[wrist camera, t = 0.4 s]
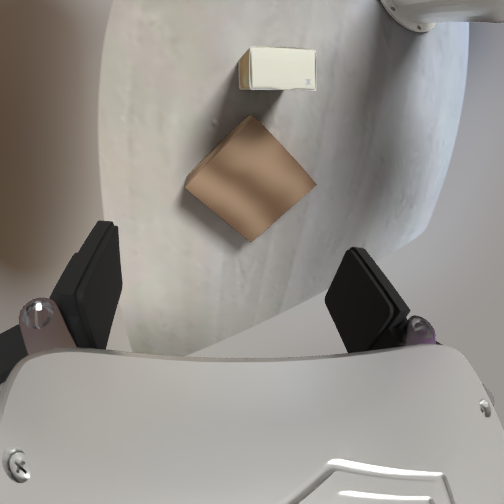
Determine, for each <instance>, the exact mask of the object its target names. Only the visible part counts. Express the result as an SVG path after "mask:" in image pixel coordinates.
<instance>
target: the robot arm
mask: <svg viewBox="0 0 504 504" xmlns="http://www.w3.org/2000/svg"><path fill="white" fill-rule="evenodd" d="M380 1H381V2H382V4H383V6H384V7H385V9H386V10H387V12H388V13H389V14H390V15H391V16H392V17H393V19H395V20H396V21H397V22H398V23H399V24H401V25H402V26H403V27H405V28H407V29H409V30H411V31H414V32H427V31H430V30H432V29H433V28H434V26H435V25H436V23H438V22H487V23H503V22H504V0H380ZM121 291H122V274H121V264H120V251H119V235H118V226H114V224H113V222H111V221H98V222H97V223H96V225H95V226H94V228H93V229H92V231H91V233H90V234H89V236H88V237H87V239H86V240H85V242H84V244H83V245H82V247H81V248H80V250H79V252H78V253H75V254H74V255H73V256H72V258H71V260H70V261H69V263H68V265H67V266H66V268H65V270H64V272H63V274H62V275H61V277H60V279H59V281H58V283H57V284H56V286H55V288H54V290H53V292H52V294H51V296H50V298H45V297H39V298H35V299H32V300H30V301H29V302H27V303H26V304H25V305H24V306H23V307H22V309H21V310H20V313H19V317H18V318H19V324H18V325H16V326H14V327H12V328H11V329H9V330H7V331H5V332H3V333H1V334H0V504H504V431H503V428H502V426H501V423H500V421H499V419H498V416H497V414H496V412H495V410H494V408H493V407H494V398H493V396H492V393H491V392H490V391H489V390H488V389H487V388H486V387H485V386H484V385H483V384H482V383H481V382H480V380H479V378H478V376H477V375H476V373H475V371H474V370H473V368H472V367H471V365H470V364H469V362H468V361H467V359H466V358H465V357H464V356H463V354H461V353H460V352H459V351H457V350H455V349H453V348H451V347H447V346H444V345H442V344H440V343H438V342H437V341H436V340H435V339H436V338H435V336H436V335H435V331H434V328H433V327H432V326H431V324H430V323H429V322H428V321H427V320H426V319H424V318H422V317H420V316H416V315H414V316H411V317H410V318H409V319H408V320H407V318H406V316H407V315H408V313H409V312H410V309H409V308H408V306H407V305H406V303H405V302H404V301H403V299H402V298H401V296H400V295H399V294H398V292H397V291H396V289H395V288H394V287H393V285H392V284H391V283H390V281H389V280H388V279H387V277H386V276H385V275H384V273H383V272H382V271H381V270H380V268H379V267H378V266H377V265H376V263H375V262H374V260H373V259H372V258H371V256H370V255H369V254H368V253H367V251H366V250H365V249H364V248H357V247H351V248H350V249H349V250H347V251H346V253H345V255H344V257H343V259H342V261H341V264H340V266H339V268H338V270H337V273H336V275H335V277H334V279H333V281H332V283H331V285H330V287H329V290H328V292H327V294H326V296H325V304H326V306H327V308H328V310H329V312H330V315H331V317H332V319H333V321H334V323H335V325H336V328H337V330H338V332H339V334H340V336H341V338H342V341H343V343H344V345H345V347H346V350H347V352H348V353H346V354H335V355H322V356H307V357H288V358H201V357H183V356H169V355H155V354H143V353H133V352H124V351H115V350H106V346H107V342H108V338H109V334H110V329H111V326H112V322H113V319H114V315H115V311H116V308H117V304H118V301H119V298H120V294H121Z"/></svg>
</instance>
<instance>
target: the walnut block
mask: <svg viewBox="0 0 504 504" xmlns="http://www.w3.org/2000/svg"><path fill="white" fill-rule="evenodd" d="M316 185H317V184H316V183H315V182H314V181H313V180H312V178H311V177H310V176H309V175H308V174H307V173H306V171H305V170H304V169H303V168H302V167H301V166H300V165H299V164H298V162H297V161H296V160H295V159H294V158H293V157H292V156H291V155H290V153H289V152H288V151H287V150H286V149H285V148H284V147H283V146H282V145H281V144H280V143H279V142H278V141H277V139H276V138H275V137H274V136H273V135H272V134H271V133H270V132H269V131H268V130H267V129H266V128H265V127H264V126H263V125H262V124H261V123H260V122H259V121H258V120H257V119H256V118H255V117H253V116H252V115H249V116H247V117H246V118H245V119H244V120H243V121H242V122H241V123H240V124H239V125H238V126H237V127H236V128H235V129H233V130H232V131H231V132H230V133H229V134H228V135H227V136H226V137H225V138H224V139H223V140H222V141H221V142H220V143H219V144H218V145H217V146H216V147H215V148H214V149H213V150H212V151H211V152H210V153H209V154H208V155H207V156H206V157H205V158H204V159H203V160H202V161H201V162H200V163H199V164H198V165H197V166H196V167H195V168H194V169H193V170H192V172H191V173H190V174H189V175H188V176H187V179H186V184H185V188H186V189H187V190H188V191H189V192H190V193H192V194H193V195H194V196H195V197H196V198H198V199H199V200H200V201H201V202H203V203H204V204H205V205H206V206H207V207H209V208H210V209H211V210H212V211H214V212H215V213H216V214H217V215H218V216H220V217H221V218H222V219H223V220H224V221H226V222H227V223H228V224H229V225H231V226H232V227H233V228H234V229H235V230H237V231H238V232H239V233H240V234H241V235H243V236H244V237H245V238H246V239H247V240H249V241H250V242H252V241H253V240H255V239H256V238H257V237H258V236H259V235H260V234H261V233H263V232H264V231H265V230H266V229H267V228H268V227H269V226H270V225H272V224H273V223H274V222H275V221H276V220H277V219H278V218H280V217H281V216H282V215H283V214H284V213H285V212H286V211H287V210H289V209H290V208H291V207H292V206H293V205H294V204H295V203H297V202H298V201H299V200H300V199H301V198H302V197H303V196H305V195H306V194H307V193H308V192H309V191H310V190H311V189H313V188H314V187H315V186H316Z"/></svg>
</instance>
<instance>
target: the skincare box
mask: <svg viewBox="0 0 504 504" xmlns="http://www.w3.org/2000/svg"><path fill="white" fill-rule="evenodd" d="M238 69H239V89H240V90H300V91H316V78H317V61H316V51H315V50H311V49H305V48H296V47H278V46H259V47H250V48H249V49H248V50H247V51H246V53H245V54H244V55H243V56H242V57H241V59H240V60H239V66H238Z"/></svg>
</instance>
